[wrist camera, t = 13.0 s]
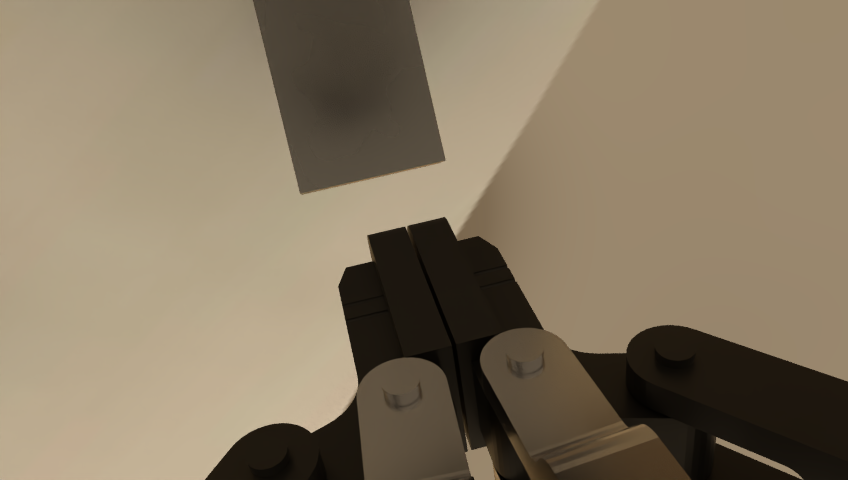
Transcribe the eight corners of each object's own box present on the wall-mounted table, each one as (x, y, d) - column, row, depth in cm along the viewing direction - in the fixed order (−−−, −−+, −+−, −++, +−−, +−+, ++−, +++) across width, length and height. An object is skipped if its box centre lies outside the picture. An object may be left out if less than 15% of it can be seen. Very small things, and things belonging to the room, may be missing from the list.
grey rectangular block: (241, -55, 21) (235, -71, 19) (383, -81, 21) (386, -99, 20) (301, 194, 21) (300, 193, 20) (439, 163, 21) (445, 160, 20)
